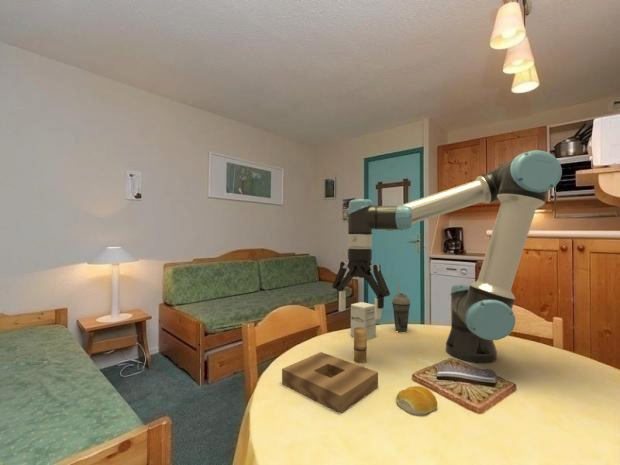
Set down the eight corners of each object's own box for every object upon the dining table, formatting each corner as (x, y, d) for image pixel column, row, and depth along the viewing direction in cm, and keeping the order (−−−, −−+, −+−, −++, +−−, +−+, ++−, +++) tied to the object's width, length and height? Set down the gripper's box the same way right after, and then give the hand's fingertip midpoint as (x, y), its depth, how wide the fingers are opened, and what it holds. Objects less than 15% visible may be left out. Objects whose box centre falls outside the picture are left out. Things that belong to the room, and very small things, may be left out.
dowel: (369, 360, 97) (369, 329, 97) (362, 364, 94) (362, 332, 94) (358, 356, 100) (358, 326, 100) (351, 360, 97) (351, 329, 97)
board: (378, 387, 80) (378, 372, 80) (340, 413, 68) (340, 395, 68) (321, 364, 94) (321, 351, 94) (282, 383, 82) (281, 368, 82)
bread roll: (443, 407, 71) (443, 390, 71) (419, 420, 66) (419, 402, 66) (414, 392, 78) (414, 376, 78) (389, 402, 73) (389, 386, 73)
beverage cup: (411, 334, 122) (411, 284, 122) (392, 333, 123) (392, 284, 123) (409, 329, 129) (409, 281, 129) (391, 328, 130) (391, 281, 130)
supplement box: (350, 336, 120) (349, 304, 120) (362, 332, 125) (361, 301, 125) (364, 341, 114) (364, 307, 115) (376, 336, 119) (376, 304, 119)
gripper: (322, 246, 103) (322, 309, 103) (389, 250, 86) (388, 325, 86) (336, 246, 108) (335, 305, 108) (401, 249, 91) (401, 319, 91)
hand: (359, 314), depth 97 cm, fingers open, 13 cm apart
